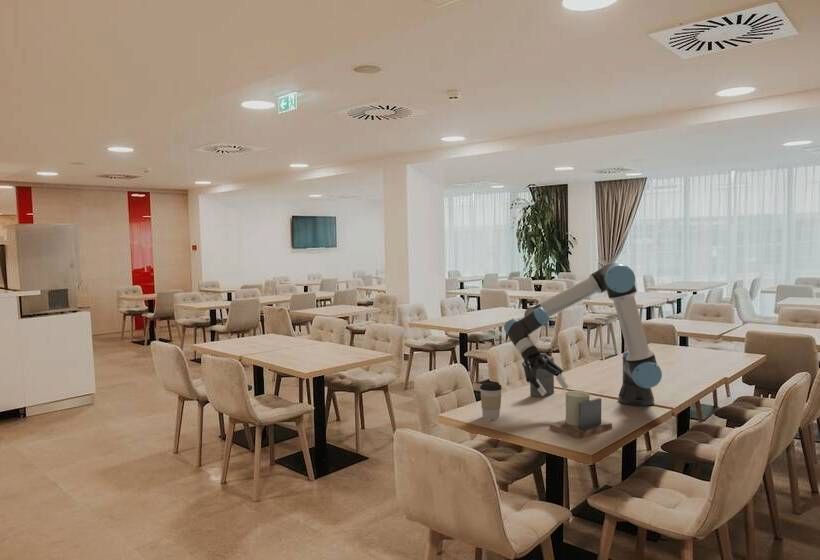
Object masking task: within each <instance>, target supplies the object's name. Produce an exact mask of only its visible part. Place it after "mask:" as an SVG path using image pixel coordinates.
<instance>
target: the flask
mask: <svg viewBox="0 0 820 560" xmlns="http://www.w3.org/2000/svg"><path fill="white" fill-rule="evenodd" d="M540 356H541V357H542V358H543V357H545V356H547V357H548V358H549V359H550V360H551V361H552V362H553V363H555V357H553V356H552V355H551V356H549V355H548V354H547V353H546V352H540ZM544 365H545V364H544ZM529 366H530V365H529ZM530 371H531V366H530ZM536 379H538V380H539V381H540V383H541V384H542V386H543V387H544V389H545V390H546V393H545V395H544V396H545V397H548V396H551V395H553V394H554V393H555V375H553V374H552V373H550V372H548V371H547V370H545V369H542V368H541V369H537V370H536ZM529 385H530V386H529V388H530V389H529V390H530V392H529V393H530V397H531V398H534V397H535V398H537V399H539V398H544V396H541V394H540V392H539V391H538V389H536V388H535V386H534V385H533V383H532V384H530V383H529ZM538 397H539V398H538Z"/></svg>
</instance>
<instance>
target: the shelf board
mask: <svg viewBox="0 0 820 560" xmlns="http://www.w3.org/2000/svg"><path fill="white" fill-rule="evenodd" d="M565 420H566V419H563V420H559V421H556V422H552V423H549V430H552V431H554V432H557V433H560V434H562V435H567V436H569V437H572V438H575V439H581V438H585V437H588V436H591V435H594V433H595V434H598V433H600V432H605V431H609V430H611V429H613V422H611V421H606V420H603V419H601V423H604V424H606V425H604V426H601V427H598V428H594V429H591V430H588V431H583V430H580V429H579V426H574V425H569V424H567V423H566V422H565ZM610 428H611V429H610ZM604 430H605V431H604ZM597 432H598V433H597Z"/></svg>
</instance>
